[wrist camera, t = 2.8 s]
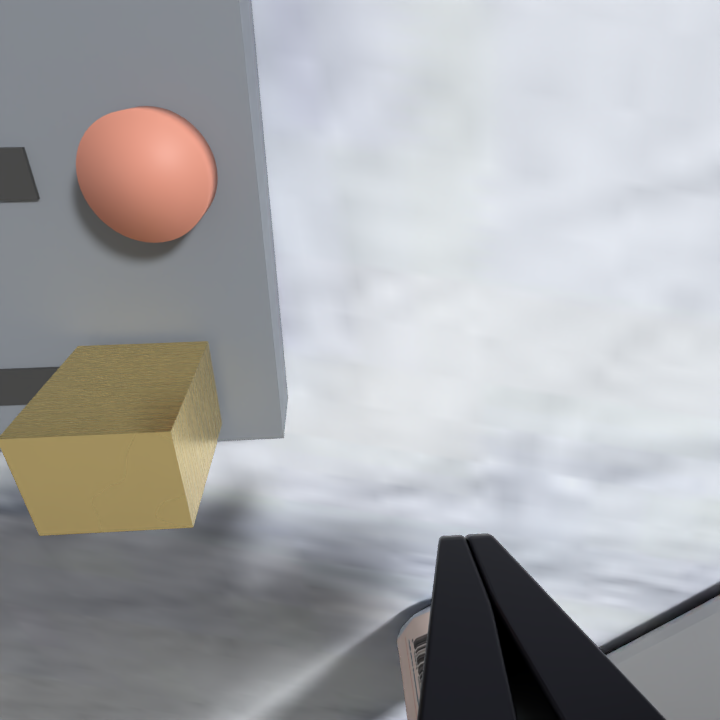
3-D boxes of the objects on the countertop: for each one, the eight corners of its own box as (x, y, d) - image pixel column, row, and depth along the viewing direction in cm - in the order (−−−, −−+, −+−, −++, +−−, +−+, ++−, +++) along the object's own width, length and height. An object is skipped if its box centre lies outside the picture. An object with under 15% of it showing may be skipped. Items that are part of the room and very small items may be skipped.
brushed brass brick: (103, 428, 13) (39, 535, 10) (77, 345, 12) (-4, 439, 9) (222, 423, 14) (193, 527, 10) (208, 341, 12) (171, 431, 9)
